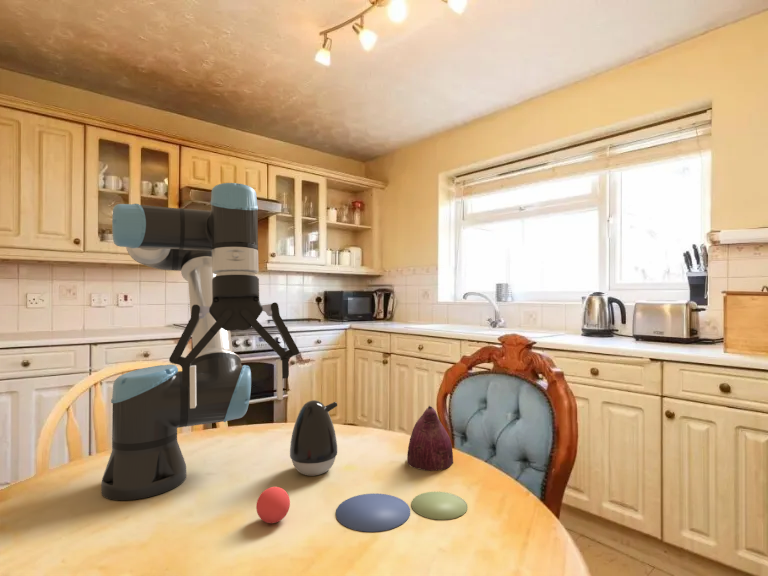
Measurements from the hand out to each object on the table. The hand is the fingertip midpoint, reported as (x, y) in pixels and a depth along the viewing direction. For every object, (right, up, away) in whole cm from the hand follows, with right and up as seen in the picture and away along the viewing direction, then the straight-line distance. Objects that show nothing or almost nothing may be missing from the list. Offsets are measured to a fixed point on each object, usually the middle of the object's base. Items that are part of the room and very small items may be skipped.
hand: (237, 402), depth 71 cm
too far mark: (+34, -20, +6) cm, 40 cm away
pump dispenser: (+9, -21, +22) cm, 32 cm away
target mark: (+22, -20, +4) cm, 30 cm away
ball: (+6, -18, +1) cm, 18 cm away
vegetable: (+35, -21, +26) cm, 48 cm away
